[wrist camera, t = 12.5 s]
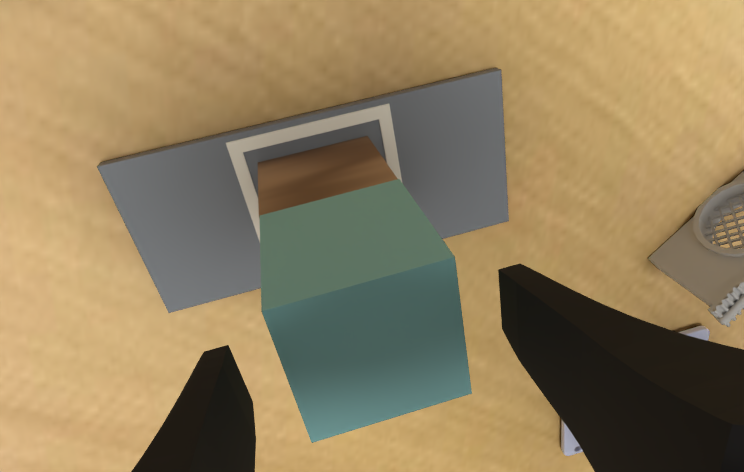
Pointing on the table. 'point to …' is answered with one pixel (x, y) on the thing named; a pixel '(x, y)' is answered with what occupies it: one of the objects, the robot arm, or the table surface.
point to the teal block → (362, 308)
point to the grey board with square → (297, 134)
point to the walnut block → (320, 174)
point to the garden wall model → (709, 254)
